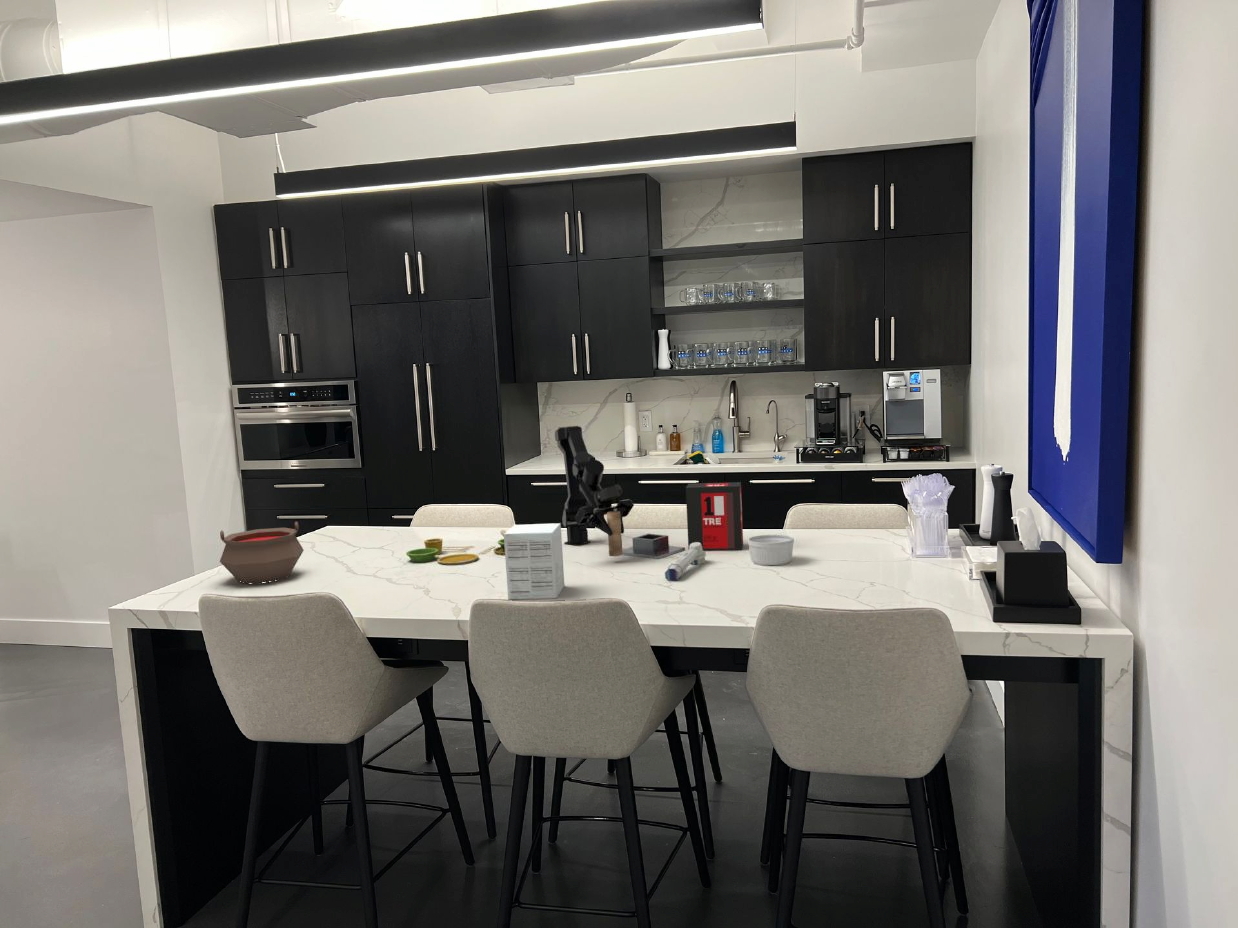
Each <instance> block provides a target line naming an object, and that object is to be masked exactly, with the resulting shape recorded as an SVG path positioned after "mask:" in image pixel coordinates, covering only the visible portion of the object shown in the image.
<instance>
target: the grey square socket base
mask: <svg viewBox="0 0 1238 928" xmlns="http://www.w3.org/2000/svg"><path fill="white" fill-rule="evenodd" d="M669 543H670V541H669V535H665V534H658V533H657V534H656V533H646V534H642V535H639V536H636V537H632V546H630V547H628V548H624V549H623V548H622V555H623V556H631V557H639V558H640V557H641V558H646V559H654V560H655V559H656V560H659V559H661V558H666V557H668V556H671V555H674V554H678V553H680V552H684V551H685V550H686V547H683V546H674V545H670V544H669ZM622 555H621V556H622Z"/></svg>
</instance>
